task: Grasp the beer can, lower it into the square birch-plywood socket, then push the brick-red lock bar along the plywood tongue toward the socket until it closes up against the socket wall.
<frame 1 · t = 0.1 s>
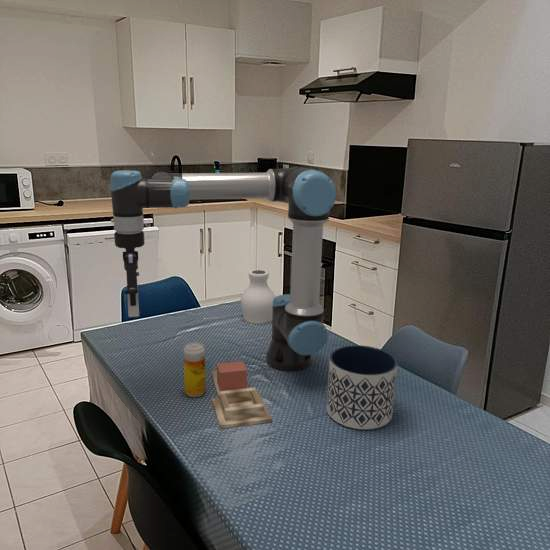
hand: (133, 307, 142), 28 cm above the table, fingers open, 13 cm apart
lock bar: (231, 375, 156), point 4 cm above the table, slide at 0.0 cm
dock: (240, 411, 144), on the table
planter: (358, 413, 145), on the table
beer can: (195, 393, 153), on the table
vase: (258, 319, 211), on the table
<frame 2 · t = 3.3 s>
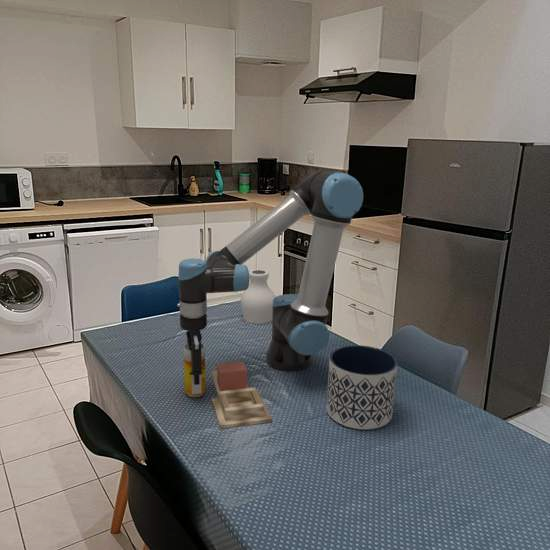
hand: (195, 387, 153), 2 cm above the table, fingers closed on beer can, 6 cm apart
beer can: (195, 393, 153), on the table, touching gripper
everything else where it was.
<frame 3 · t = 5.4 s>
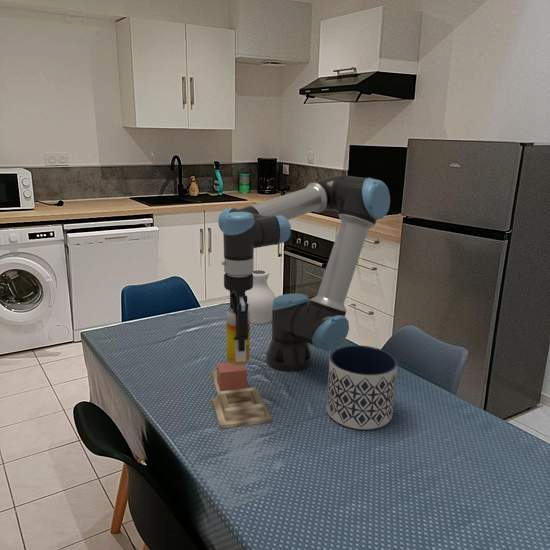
hand: (238, 355, 140), 17 cm above the table, fingers closed on beer can, 6 cm apart
beer can: (238, 362, 140), point 15 cm above the table, touching gripper
everything else where it was.
when the fingers open (5 cm above the table, at t = 7.9 s): beer can drops 2 cm, resting on dock.
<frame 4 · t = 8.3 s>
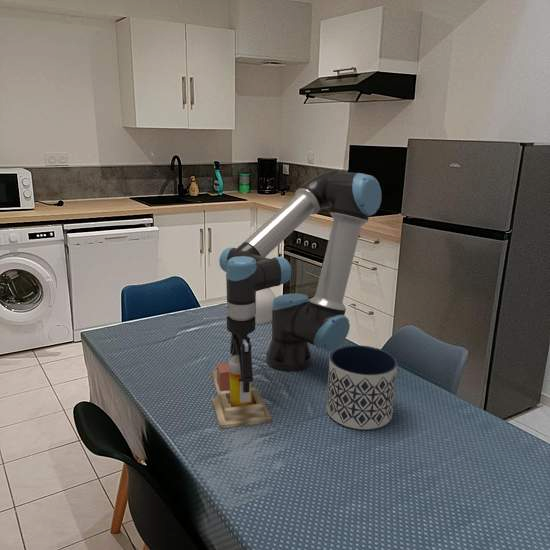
hand: (240, 390, 142), 6 cm above the table, fingers open, 11 cm apart
beer can: (241, 409, 143), point 1 cm above the table, touching dock
everything else where it was.
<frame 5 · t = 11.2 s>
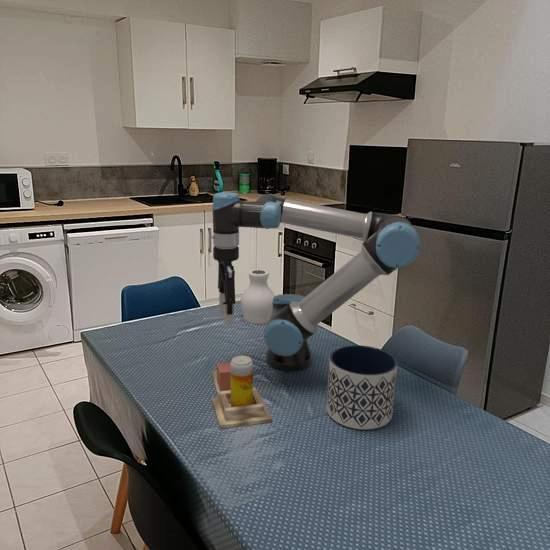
hand: (226, 318, 159), 19 cm above the table, fingers open, 8 cm apart
nothing on the table moved.
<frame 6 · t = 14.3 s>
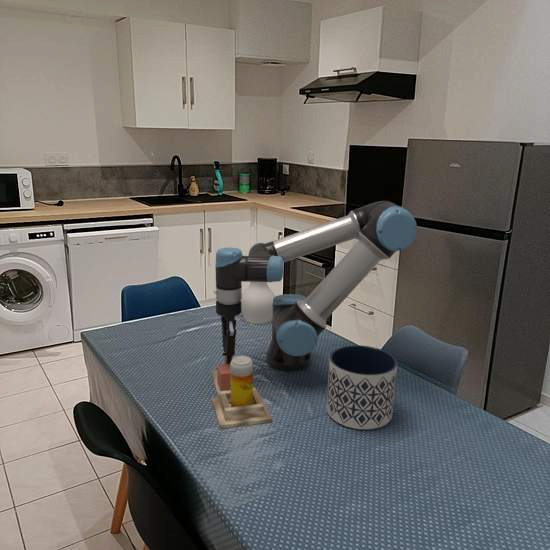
hand: (228, 372, 160), 3 cm above the table, fingers closed
lock bar: (232, 377, 155), point 4 cm above the table, slide at 0.9 cm, touching gripper
everything else where it was.
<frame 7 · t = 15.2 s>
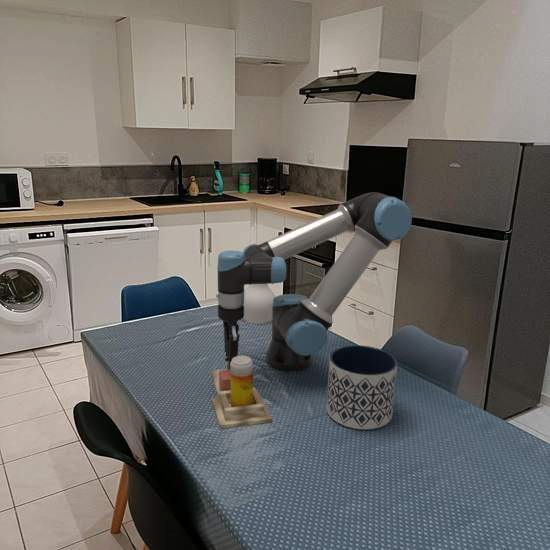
hand: (230, 378, 156), 3 cm above the table, fingers closed
lock bar: (234, 383, 151), point 4 cm above the table, slide at 4.4 cm, touching gripper
everything else where it was.
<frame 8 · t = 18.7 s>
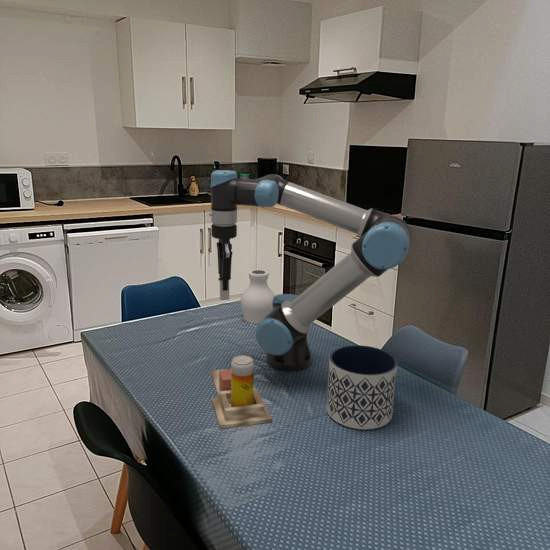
hand: (224, 299, 160), 24 cm above the table, fingers closed
lock bar: (234, 383, 151), point 4 cm above the table, slide at 4.5 cm
everything else where it was.
at the end: beer can 0.6 cm from the dock (horizontally); beer can tilted 1°; lock bar slide at 4.5 cm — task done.
